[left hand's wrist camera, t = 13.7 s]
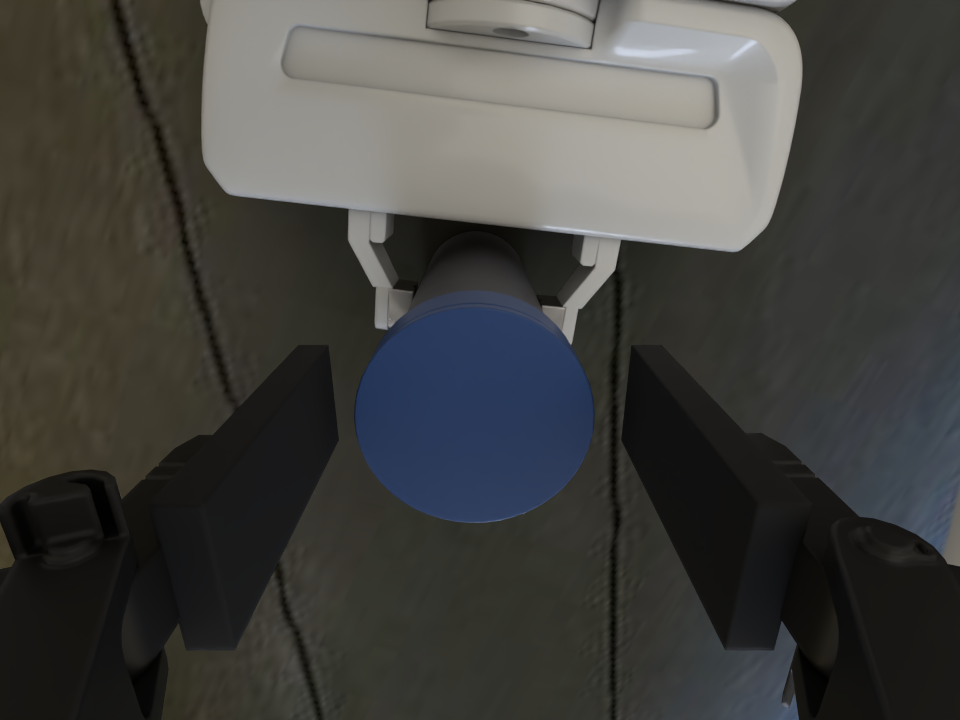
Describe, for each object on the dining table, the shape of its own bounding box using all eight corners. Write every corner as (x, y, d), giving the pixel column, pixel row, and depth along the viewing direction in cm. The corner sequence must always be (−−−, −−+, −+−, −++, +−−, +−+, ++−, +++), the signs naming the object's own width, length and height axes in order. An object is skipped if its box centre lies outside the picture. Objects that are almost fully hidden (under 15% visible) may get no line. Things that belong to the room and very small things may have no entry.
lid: (561, 266, 13) (573, 281, 12) (596, 463, 15) (610, 499, 14) (339, 316, 14) (320, 338, 12) (401, 501, 16) (392, 542, 14)
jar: (513, 220, 27) (558, 294, 12) (532, 315, 29) (592, 481, 14) (416, 243, 27) (344, 342, 13) (440, 335, 29) (403, 518, 14)
